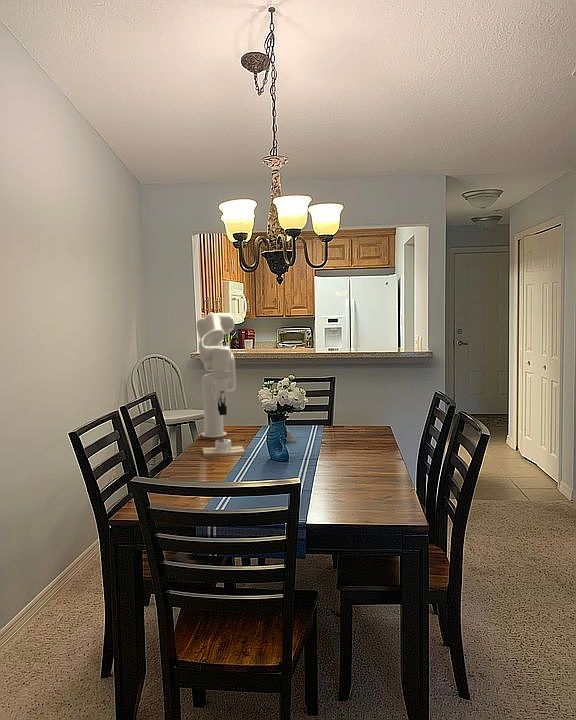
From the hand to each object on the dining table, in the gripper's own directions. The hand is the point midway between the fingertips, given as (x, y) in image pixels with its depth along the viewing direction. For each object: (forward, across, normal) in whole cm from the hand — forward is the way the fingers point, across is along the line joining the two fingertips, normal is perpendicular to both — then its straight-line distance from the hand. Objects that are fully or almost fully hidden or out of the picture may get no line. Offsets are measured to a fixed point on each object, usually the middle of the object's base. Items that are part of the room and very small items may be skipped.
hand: (222, 413), depth 292 cm
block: (+18, 0, 0) cm, 18 cm away
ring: (+17, 0, 0) cm, 17 cm away
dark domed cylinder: (+17, 0, 0) cm, 17 cm away
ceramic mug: (+18, -17, +31) cm, 40 cm away
